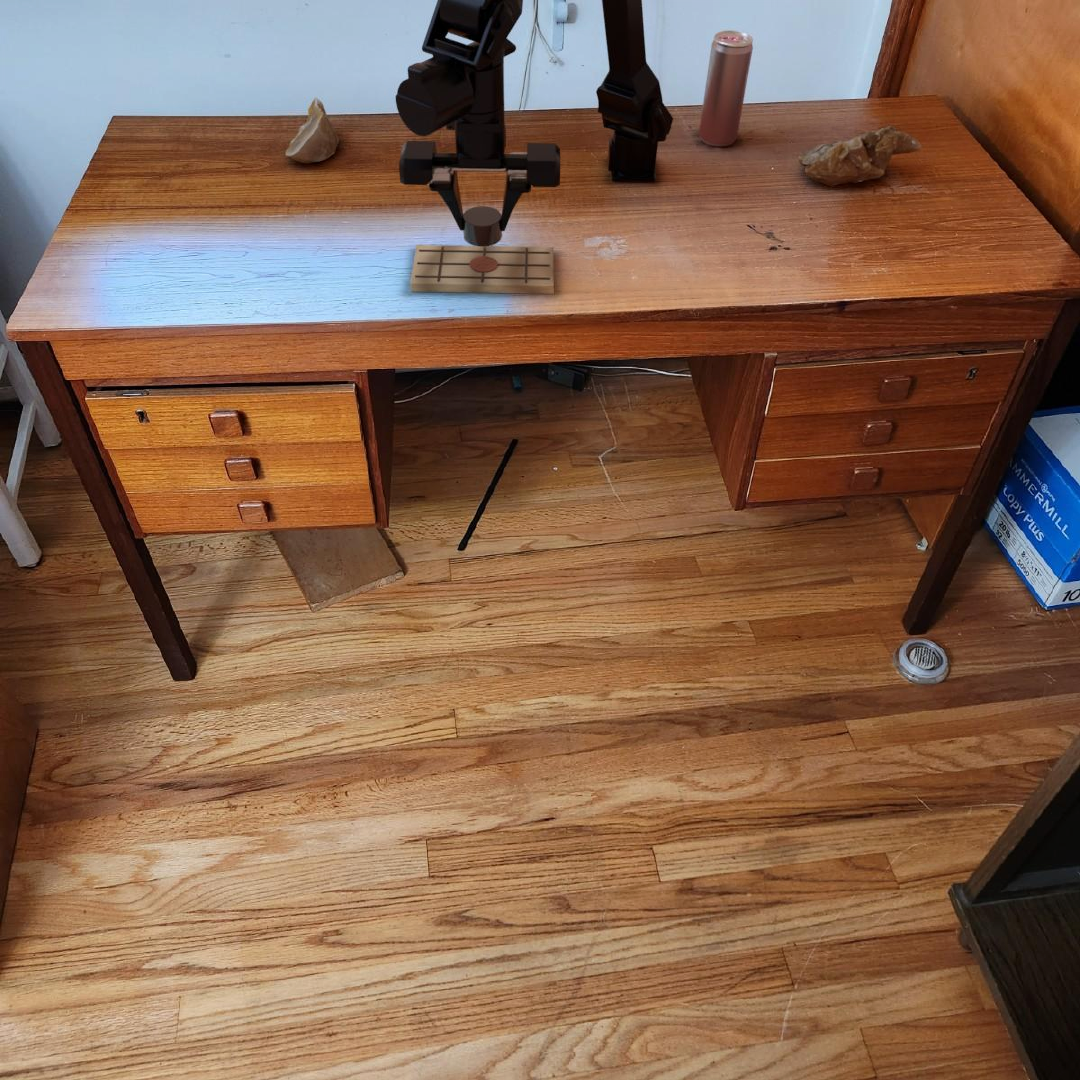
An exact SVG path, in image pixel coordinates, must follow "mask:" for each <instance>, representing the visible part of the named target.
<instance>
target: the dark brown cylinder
mask: <svg viewBox="0 0 1080 1080" xmlns="http://www.w3.org/2000/svg"><path fill="white" fill-rule="evenodd" d="M501 218H502V212H500V210H498V209H497V208H494V207H491V206H486V205H479V206H473V207H470V208H468V209H467V210H465V211H463V231H462V232H463V239H464V241H465V242H466V243H467V244H470V246H481V247H485V246H495V245H496V244H498V243H499V242H500V241H501V240H502V238H503V231H501Z"/></svg>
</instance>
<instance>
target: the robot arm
mask: <svg viewBox="0 0 1080 1080" xmlns="http://www.w3.org/2000/svg"><path fill="white" fill-rule="evenodd" d="M523 4H524V0H437V1H436V4H435V7H434V11H433V12H432V16H431V19H430V21H429V25H428V28H427V31H426V34H425V37H424V40H423V43H422V45H421V51H422V52H423V53H426V54H429V55H432V57H430V58H428V59H425V60H424V61H421V62H416V63H413V64H410V65H409V66H408V67H407V78H406V79H404V80H402V81H401V82H400V83H399V86H398V88H397V92H396V94H395V105H396V110H397V113H398V115H399V117H400V119H401V121H402V122H403V124H404V125H405V126H406V128H407V129H408V130H410V132H411V133H413V134H414V135H416V136H418V137H427V136H430V135H432V134H433V133H435V132H438V131H439V130H441V129H443V128H446V130H447V131H454V139H455V152H437V142H436V141H435V140H406V141H405V142H404V143H403V145H402V146H401V151H400V156H399V160H398V172H399V181H400V184H402V185H404V186H427V185H428V188H429V190H430V191H431V192H437V193H438V195H439V197H441V199H442V200H443V201H444V203H445V205H446V206H447V207H448V209H449V211H450V213H451V215H452V217H453V219H454V221H455V223H456V226H457V227H458V229H459V231H462V232H463V214H464V209H463V204H462V198H461V191H460V185H459V178H458V172H498V173H499V172H502V173H505V172H506V176H505V185H504V192H503V202H502V207H501V215H502V218H501V231H502V232H505V231H506V228H507V227H508V223H509V221H510V219H511V216H512V213H513V211H514V209H515V206H516V205H517V203H518V201H519V200H520V199H521V196H523V194H528V193H530V192H531V191H532V187H533V188H556V187H559V186H560V185H561V148H560V147H559V145H557V143H556V142H527V143H526V151H512V152H510V153H506V148H507V124H506V121H505V60H504V59H505V57H507V56H509V55H511V54H514V53H515V52H516V50H517V45H516V44H514V43H513V42H512V41H511V40H509V39H508V37H509V35H510V33H511V32H512V30H513V29H514V27H515V25H516V24H517V22H518V21H519V19H520V17H521V16H522V14H523V7H524V5H523ZM601 6H602V14H603V15H602V16H603V24H604V32H605V33H604V34H605V42H606V50H607V51H606V52H607V61H608V72H607V73H606V75H605V77H604V79H603V81H602V83H600V85H599V86H598V87H597V88H596V91H595V93H596V97H597V100H598V101H597V113H599V114H600V115H601V119H602V126H603V128H605V129H610V130H612V131H613V135H610V136H609V138H608V149H607V150H608V151H607V170H608V172H610V177H611V178H610V179H611V181H613V182H639V183H640V182H642V183H643V182H644V183H646V182H647V183H654V182H656V181H657V174H656V163H657V154H658V145H659V143H660V142H665V141H667V136H669V134H670V132H671V130H672V126H673V125H672V124H673V122H674V117H673V116H672V114H671V113H670V111H669V110H668V108H667V107H666V105H665V103H664V102H663V95H662V88H661V83H660V80H659V78H658V76H657V75H656V74H655V72H654V71H653V70H652V69H651V67H650V65H649V64H648V63H647V54H646V40H645V26H644V11H643V0H601ZM448 34H451V35H454V36H457V37H460V38H463V39H466V40H469V41H472V42H470V43H468V44H466V43H463V42H460V41H458V40H454V39H452V38H448V37H447V35H448Z"/></svg>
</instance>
